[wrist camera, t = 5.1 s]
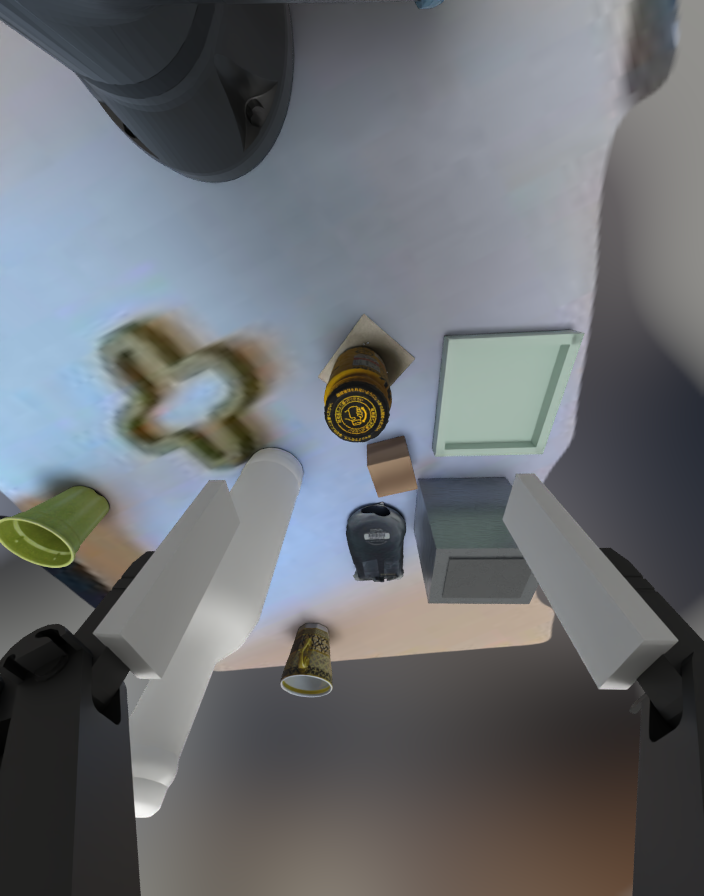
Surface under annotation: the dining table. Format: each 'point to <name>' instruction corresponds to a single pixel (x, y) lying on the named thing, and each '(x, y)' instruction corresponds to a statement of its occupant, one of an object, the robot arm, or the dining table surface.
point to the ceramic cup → (309, 663)
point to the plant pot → (54, 527)
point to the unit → (469, 543)
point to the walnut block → (390, 467)
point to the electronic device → (376, 545)
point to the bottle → (214, 623)
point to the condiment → (362, 382)
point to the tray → (501, 391)
